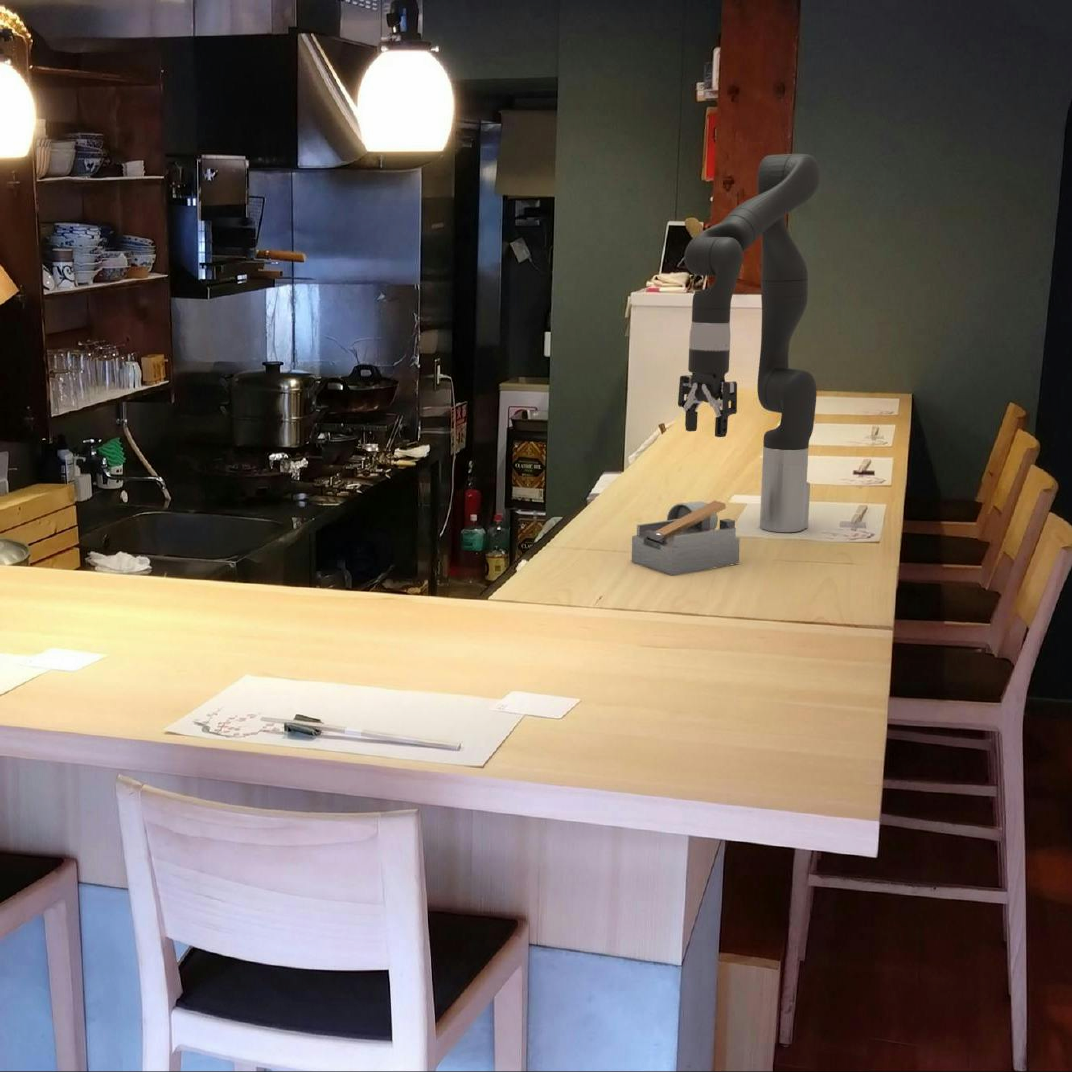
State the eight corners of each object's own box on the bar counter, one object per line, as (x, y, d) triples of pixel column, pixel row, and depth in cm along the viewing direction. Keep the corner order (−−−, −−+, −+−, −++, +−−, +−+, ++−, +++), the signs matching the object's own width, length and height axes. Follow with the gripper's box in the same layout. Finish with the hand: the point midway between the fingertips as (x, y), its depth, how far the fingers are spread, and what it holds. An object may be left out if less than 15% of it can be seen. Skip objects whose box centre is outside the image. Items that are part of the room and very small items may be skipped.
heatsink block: (697, 550, 262) (698, 510, 260) (738, 563, 252) (740, 522, 250) (631, 561, 253) (632, 520, 251) (671, 575, 243) (673, 532, 241)
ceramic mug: (720, 537, 273) (721, 500, 271) (695, 544, 267) (696, 506, 265) (678, 530, 280) (679, 494, 278) (653, 536, 274) (654, 499, 273)
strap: (713, 504, 256) (711, 497, 256) (728, 508, 253) (726, 501, 252) (645, 539, 249) (643, 532, 248) (660, 544, 245) (658, 536, 245)
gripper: (750, 349, 246) (745, 437, 249) (700, 343, 257) (696, 428, 261) (718, 350, 242) (714, 440, 245) (669, 344, 253) (666, 430, 257)
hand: (705, 433), depth 253 cm, fingers open, 8 cm apart
